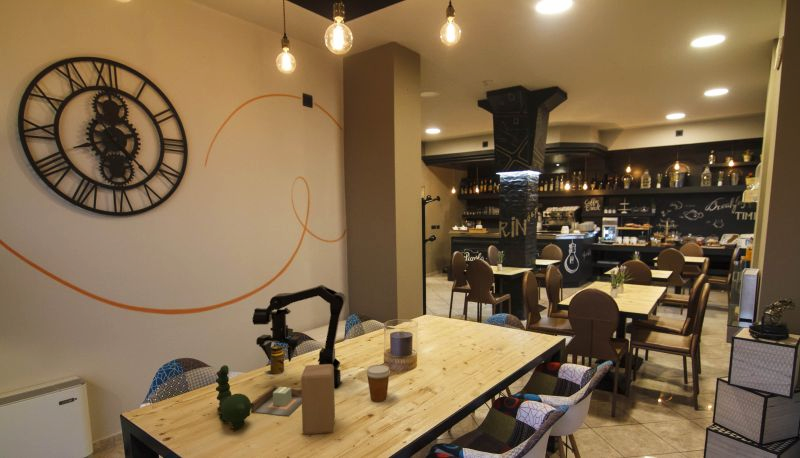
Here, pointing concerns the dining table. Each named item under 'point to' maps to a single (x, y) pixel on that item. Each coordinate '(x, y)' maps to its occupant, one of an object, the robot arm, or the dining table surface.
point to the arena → (266, 406)
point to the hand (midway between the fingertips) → (279, 360)
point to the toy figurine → (231, 402)
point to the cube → (282, 396)
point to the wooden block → (318, 399)
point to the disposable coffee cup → (378, 382)
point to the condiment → (276, 361)
